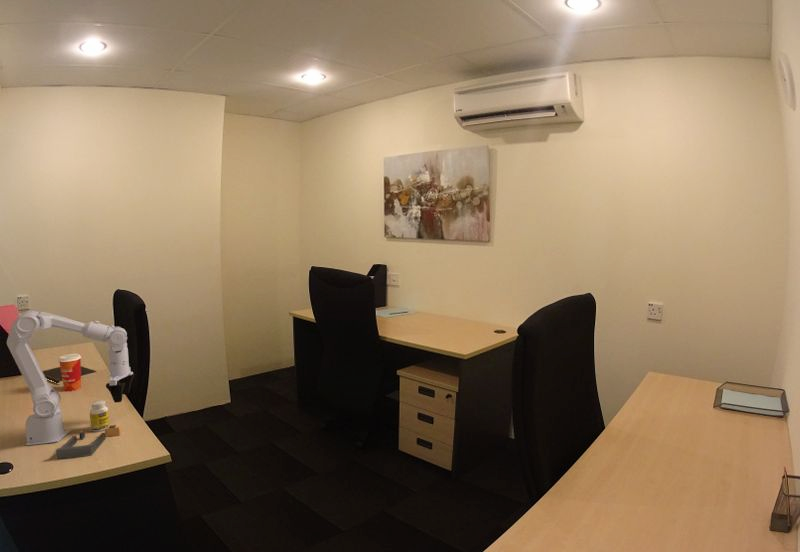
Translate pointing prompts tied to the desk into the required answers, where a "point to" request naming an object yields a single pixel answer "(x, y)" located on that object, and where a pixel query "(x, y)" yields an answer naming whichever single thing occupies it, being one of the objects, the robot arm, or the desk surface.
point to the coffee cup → (71, 371)
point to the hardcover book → (57, 376)
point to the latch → (112, 430)
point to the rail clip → (79, 447)
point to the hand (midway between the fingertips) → (122, 397)
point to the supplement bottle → (99, 416)
